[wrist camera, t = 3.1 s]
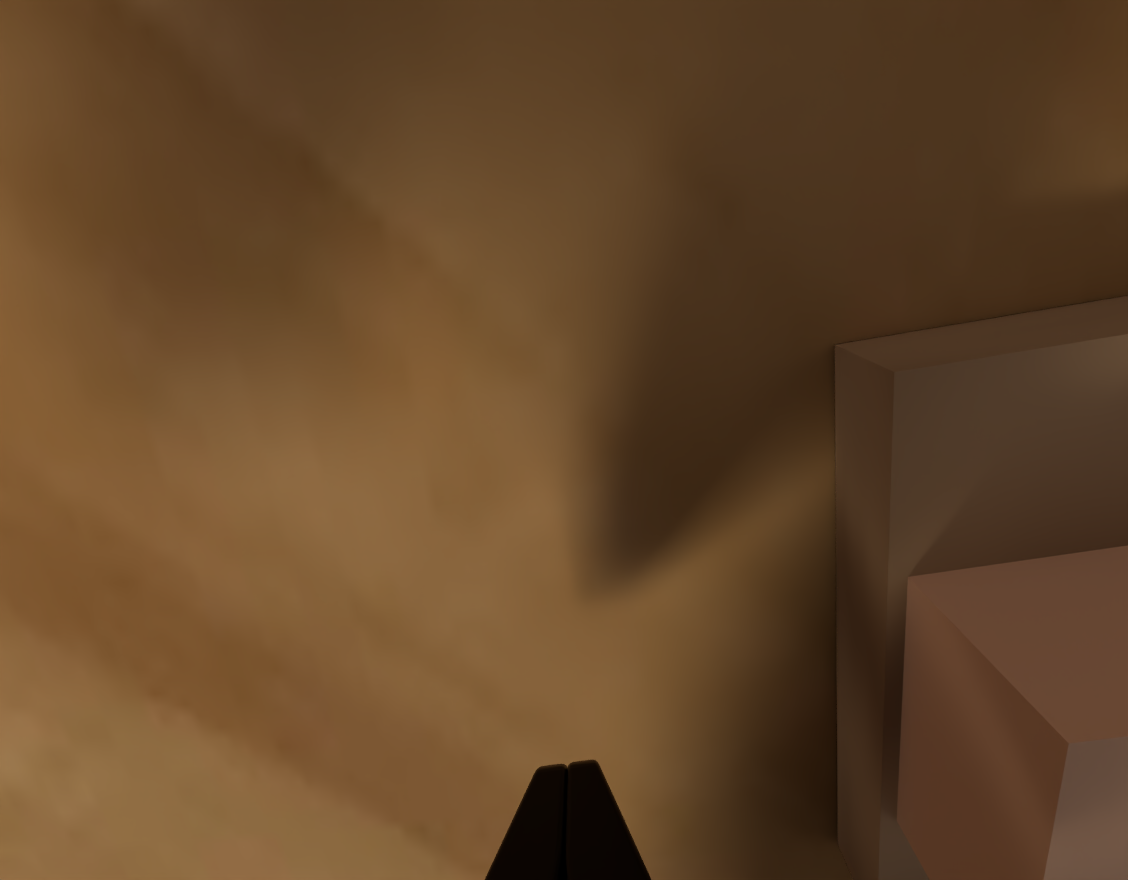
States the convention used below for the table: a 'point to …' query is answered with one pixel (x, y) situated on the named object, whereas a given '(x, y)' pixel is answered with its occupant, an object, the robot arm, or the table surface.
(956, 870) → the terracotta tile
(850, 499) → the board
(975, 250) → the table surface
